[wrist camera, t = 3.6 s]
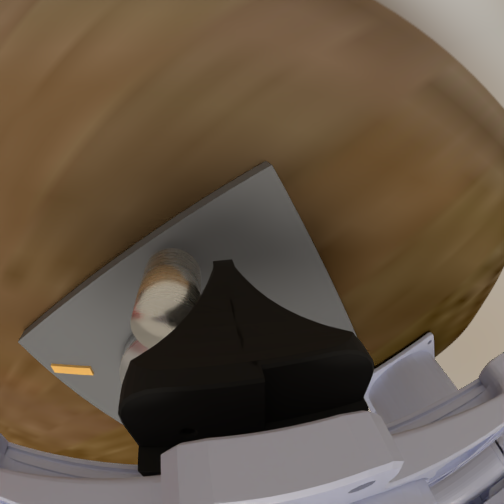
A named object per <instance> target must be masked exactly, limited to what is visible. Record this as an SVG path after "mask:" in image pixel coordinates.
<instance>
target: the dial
mask: <svg viewBox="0 0 504 504" xmlns="http://www.w3.org/2000/svg"><path fill="white" fill-rule="evenodd" d="M200 295H201V271H200V267H199V264H198V263H197V261H196V260H195V258H194V257H193V256H191V255H190V254H189V253H187V252H185V251H183V250H180V249H175V248H168V249H163V250H160V251H158V252H156V253H155V254H153V255H152V256H151V257H150V259H149V260H148V262H147V264H146V267H145V270H144V274H143V277H142V280H141V284H140V287H139V290H138V294H137V297H136V301H135V305H134V308H133V312H132V316H131V321H130V325H131V330H132V332H133V334H132V335H131V337H130V338H129V339H128V341H127V343H126V345H125V347H124V351H123V355H122V360H121V365H120V380H121V383H123V380H124V377H125V374H126V371H127V369H128V366H129V363H130V361H131V360H132V359H134V358H136V357H137V356H139V355H140V354H142V353H144V352H145V351H147V350H148V349H150V348H151V347H153V346H154V345H156V344H157V343H158V342H160V341H161V340H162V339H163V338H165V337H166V336H167V335H168V334H169V333H170V332H172V331H173V330H174V329H175V328H176V327H177V326H178V325H179V323H180V322H181V321H182V320H183V319H184V318H185V317H186V316H187V314H188V313H189V312H190V310H191V309H192V308H193V306H194V305H195V303H196V302H197V300H198V299H199V297H200Z"/></svg>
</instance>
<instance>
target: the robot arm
mask: <svg viewBox="0 0 504 504" xmlns="http://www.w3.org/2000/svg"><path fill="white" fill-rule="evenodd" d="M364 399H365V400H364ZM365 401H366V402H365ZM366 403H367V404H366ZM368 407H369V408H370V410H371V412H369V411H368ZM118 415H119V418H120V420H121V422H122V423H123V425H124V426H125V428H126V429H127V430H128V432H129V433H130V434H131V436H132V437H133V438H134V440H135V441H136V442H137V444H138V445H139V452H138V465H130V464H117V463H107V462H98V461H90V460H84V459H77V458H71V457H66V456H61V455H56V454H51V453H47V452H43V451H39V450H35V449H31V448H27V447H23V446H20V445H17V444H13V443H10V442H8V441H7V440H6V438H5V437H4V436H3V435H2V434H1V433H0V504H504V352H503V353H502V354H500V355H499V356H497V357H496V358H494V359H492V360H491V361H490V362H489V363H488V364H487V365H486V366H485V368H484V369H483V370H482V372H481V374H480V375H479V378H478V379H476V380H475V381H473V382H471V383H470V384H468V385H466V386H465V387H463V388H461V389H459V390H458V389H457V388H456V386H455V385H454V384H453V383H452V381H451V380H450V378H449V377H448V376H447V374H446V373H445V372H444V371H443V369H442V368H441V367H440V365H439V364H438V363H437V362H436V360H435V356H434V335H433V334H432V333H431V332H429V333H427V334H426V335H424V336H423V337H422V338H420V339H419V340H418V341H416V342H415V343H413V344H412V345H410V346H409V347H408V348H406V349H405V350H403V351H402V352H400V353H399V354H397V355H396V356H394V357H393V358H391V359H390V360H388V361H387V362H385V363H383V364H382V365H380V366H379V367H377V368H375V369H374V363H373V360H372V358H371V356H370V355H369V353H368V352H367V350H366V348H365V347H364V346H363V344H362V343H361V341H360V340H359V339H358V338H357V337H356V335H355V334H354V333H353V332H351V331H347V330H343V329H339V328H335V327H331V326H327V325H324V324H321V323H318V322H315V321H312V320H309V319H307V318H304V317H302V316H300V315H298V314H295V313H293V312H291V311H289V310H287V309H285V308H284V307H282V306H280V305H278V304H277V303H275V302H274V301H272V300H271V299H269V298H267V297H266V296H265V295H264V294H262V293H261V292H260V291H259V290H257V289H256V288H255V287H254V286H253V285H252V284H251V283H250V282H249V281H248V280H247V279H246V278H245V277H244V276H243V275H242V274H241V273H240V272H239V271H238V270H237V268H236V267H235V265H234V263H233V260H232V259H229V260H219V261H213V270H212V273H211V275H210V278H209V280H208V282H207V284H206V286H205V288H204V290H203V292H202V294H201V295H200V297H199V299H198V300H197V302H196V303H195V305H194V306H193V308H192V309H191V310H190V312H189V313H188V314H187V316H186V317H185V318H184V319H183V320H182V321H181V322H180V323H179V325H178V326H177V327H176V328H175V329H174V330H173V331H172V332H170V333H169V334H168V335H167V336H166V337H165V338H163V339H162V340H161V341H160V342H158V343H157V344H156V345H154V346H153V347H151V348H150V349H148V350H147V351H145V352H144V353H142V354H140V355H139V356H137V357H136V358H134V359H132V360H131V361H130V363H129V366H128V369H127V371H126V374H125V377H124V380H123V383H122V388H121V393H120V400H119V406H118Z"/></svg>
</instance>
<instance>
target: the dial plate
mask: <svg viewBox="0 0 504 504" xmlns="http://www.w3.org/2000/svg"><path fill="white" fill-rule="evenodd" d="M168 248H175V249H180V250H183V251H185V252H187V253H189V254H190V255H191V256H193V257H194V258H195V260H196V261H197V263H198V264H199V267H200V271H201V294H202V292H203V290H204V288H205V286H206V284H207V282H208V280H209V278H210V275H211V273H212V270H213V261H219V260H229V259H232V260H233V263H234V265H235V267H236V268H237V270H238V271H239V272H240V273H241V274H242V275H243V276H244V277H245V278H246V279H247V280H248V281H249V282H250V283H251V284H252V285H253V286H254V287H255V288H256V289H257V290H259V291H260V292H261V293H262V294H264V295H265V296H266V297H267V298H269V299H271V300H272V301H274V302H275V303H277V304H278V305H280V306H282V307H284V308H285V309H287V310H289V311H291V312H293V313H295V314H298V315H300V316H302V317H304V318H307V319H309V320H312V321H315V322H318V323H321V324H324V325H327V326H331V327H335V328H339V329H343V330H347V331H351V332H353V333H354V334H355V335H356V333H355V331H354V329H353V327H352V324H351V322H350V320H349V318H348V315H347V313H346V311H345V309H344V306H343V304H342V302H341V300H340V298H339V296H338V293H337V291H336V289H335V287H334V285H333V283H332V281H331V279H330V276H329V274H328V272H327V270H326V268H325V266H324V264H323V262H322V260H321V258H320V256H319V254H318V252H317V250H316V248H315V246H314V244H313V242H312V240H311V238H310V236H309V234H308V232H307V230H306V228H305V226H304V224H303V222H302V220H301V218H300V216H299V214H298V212H297V211H296V209H295V207H294V205H293V203H292V201H291V199H290V197H289V195H288V194H287V192H286V190H285V188H284V186H283V184H282V182H281V181H280V179H279V177H278V175H277V173H276V171H275V170H274V168H273V166H272V165H271V164H270V163H268V162H267V161H265V162H263V163H261V164H260V165H258V166H256V167H254V168H253V169H251V170H249V171H248V172H246V173H244V174H243V175H241V176H239V177H237V178H236V179H234V180H232V181H231V182H229V183H228V184H226V185H224V186H223V187H221V188H219V189H218V190H216V191H214V192H213V193H211V194H210V195H208V196H206V197H205V198H203V199H202V200H200V201H199V202H197V203H195V204H194V205H192V206H191V207H189V208H188V209H186V210H185V211H183V212H181V213H180V214H178V215H177V216H175V217H174V218H172V219H171V220H169V221H168V222H166V223H165V224H163V225H162V226H160V227H159V228H157V229H156V230H155V231H153V232H152V233H150V234H149V235H147V236H146V237H144V238H143V239H141V240H140V241H139V242H137V243H136V244H134V245H133V246H132V247H130V248H129V249H127V250H126V251H125V252H123V253H122V254H120V255H119V256H118V257H116V258H115V259H113V260H112V261H111V262H109V263H108V264H107V265H105V266H104V267H103V268H101V269H100V270H99V271H97V272H96V273H95V274H93V275H92V276H91V277H89V278H88V279H87V280H85V281H84V282H83V283H82V284H80V285H79V286H78V287H76V288H75V289H74V290H73V291H71V292H70V293H69V294H68V295H66V296H65V297H64V298H63V299H61V300H60V301H59V302H58V303H56V304H55V305H54V306H53V307H52V308H50V309H49V310H48V311H47V312H46V313H44V314H43V315H42V316H41V317H40V318H38V319H37V320H36V321H35V322H34V323H33V324H31V325H30V326H29V327H28V328H27V329H26V330H25V331H24V332H23V334H22V336H21V337H20V339H19V341H18V342H19V343H20V344H21V345H22V346H23V347H24V348H25V349H26V350H27V351H28V352H29V353H30V354H31V355H32V356H33V357H34V358H35V359H37V360H38V361H39V362H40V363H41V364H42V365H43V366H44V367H45V368H47V369H48V370H49V371H50V372H51V373H52V374H54V375H55V376H56V377H57V378H58V379H60V380H61V381H62V382H63V383H65V384H66V385H67V386H68V387H70V388H71V389H72V390H74V391H75V392H76V393H77V394H79V395H80V396H82V397H83V398H84V399H86V400H87V401H88V402H90V403H91V404H93V405H94V406H95V407H97V408H98V409H100V410H101V411H103V412H104V413H106V414H107V415H109V416H110V417H112V418H113V419H115V420H117V421H118V422H120V423H121V424H123V423H122V422H121V420H120V418H119V415H118V406H119V400H120V393H121V388H122V383H121V380H120V365H121V360H122V355H123V351H124V347H125V345H126V343H127V341H128V339H129V338H130V337H131V335H132V334H133V332H132V330H131V325H130V321H131V316H132V312H133V308H134V305H135V301H136V297H137V294H138V290H139V287H140V284H141V280H142V277H143V274H144V270H145V267H146V264H147V262H148V260H149V259H150V257H151V256H152V255H153V254H155V253H156V252H158V251H160V250H163V249H168ZM356 337H357V336H356Z"/></svg>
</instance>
